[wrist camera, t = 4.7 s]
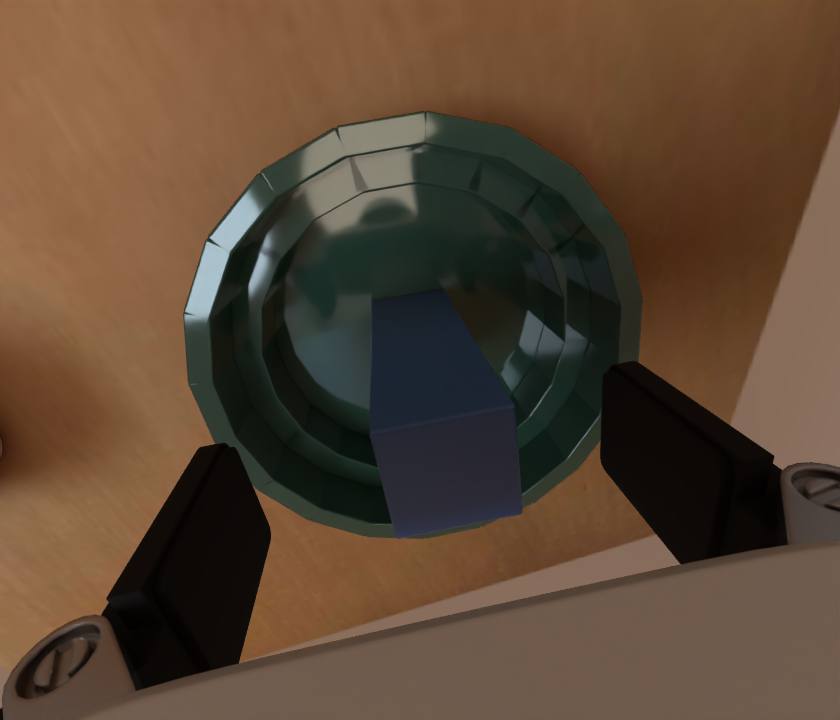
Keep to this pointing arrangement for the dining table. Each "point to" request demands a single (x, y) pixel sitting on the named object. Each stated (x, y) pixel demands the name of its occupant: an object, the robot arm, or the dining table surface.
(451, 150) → the green bowl
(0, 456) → the cup
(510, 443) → the block
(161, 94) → the dining table surface
